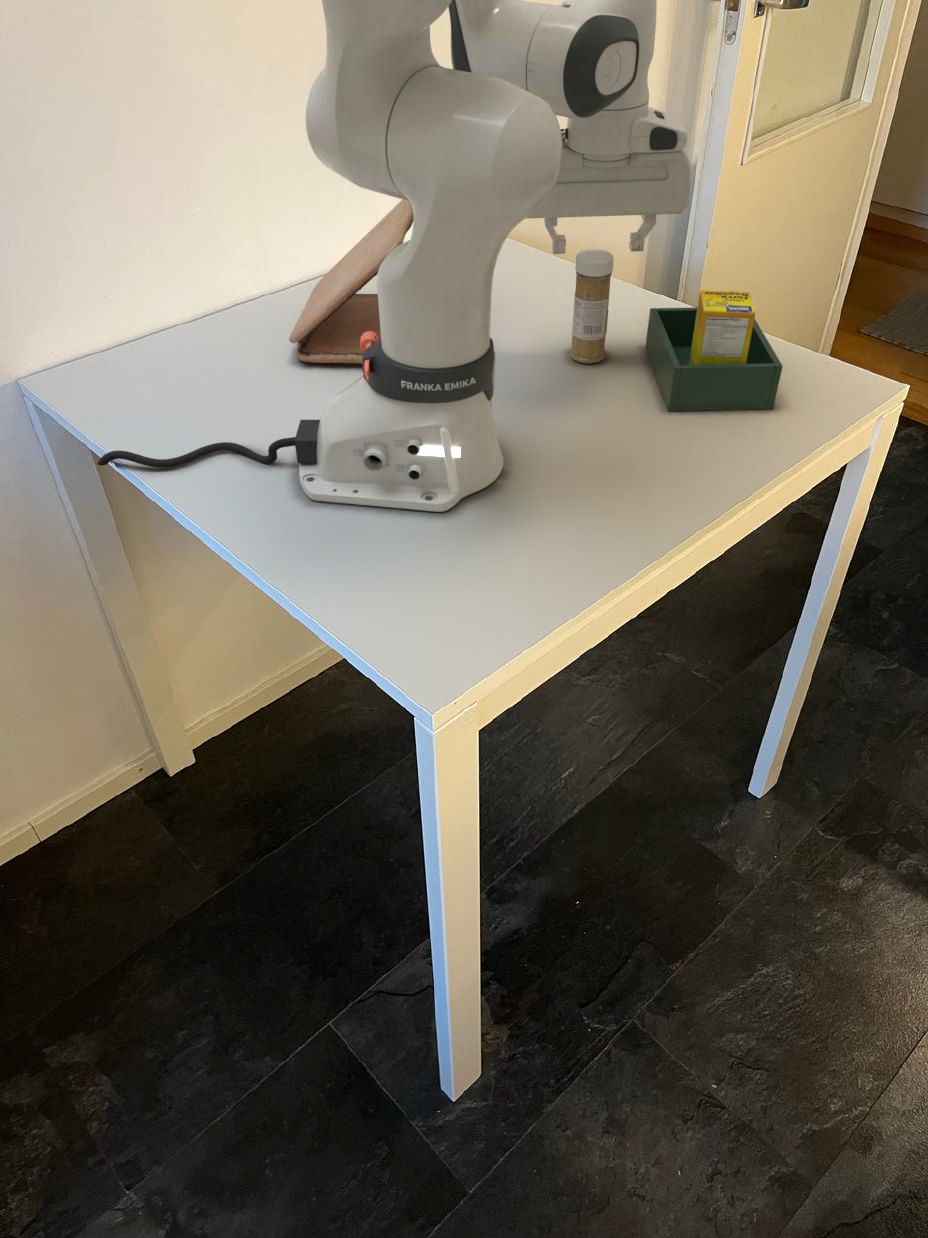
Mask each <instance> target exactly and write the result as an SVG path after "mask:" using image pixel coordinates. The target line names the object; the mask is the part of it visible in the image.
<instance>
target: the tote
mask: <svg viewBox="0 0 928 1238" xmlns="http://www.w3.org/2000/svg"><path fill="white" fill-rule="evenodd" d="M697 307H698V306H696V307H695V306H694V307H657V308H656V307H650V309H649V315H648V322H647V323H648V324H647V332H646V338H645V347H644V349H645V352H646V355H647V358H648V360H649V363H650V365H651V368H652V371H653V374H654V377H655V379H656V382H657V384H658V387H659V390H660V393H661V395H662V397H663V401H664V404H665V405H666V408H667V411H668V412H693V411H694V412H697V411H698V412H700V411H741V410H742V411H743V410H745V411H747V410H748V411H749V410H773V409H774V406H775V401H776V399H777V393H778V390H779V389H778V388H779V385H780V381H781V376H782V371H783V368H784V367H783V364H782V362H781V361H780V359H779V357H778V355H777V353H776V352H775V350H774V349H773V347H772V345H771V344H770V342H769V340H768V339H767V337H766V336H765V334H764V332H763V329H761V327H760V324H759V323H758V322H757V319H756V318H755V319H754V324H753V329H752V334H751V339H750V345H749V350H748V355H747V360H746V364H715V365H689V360H690V353H691V347H692V340H693V333H694V327H695V320H696V314H697Z"/></svg>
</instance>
